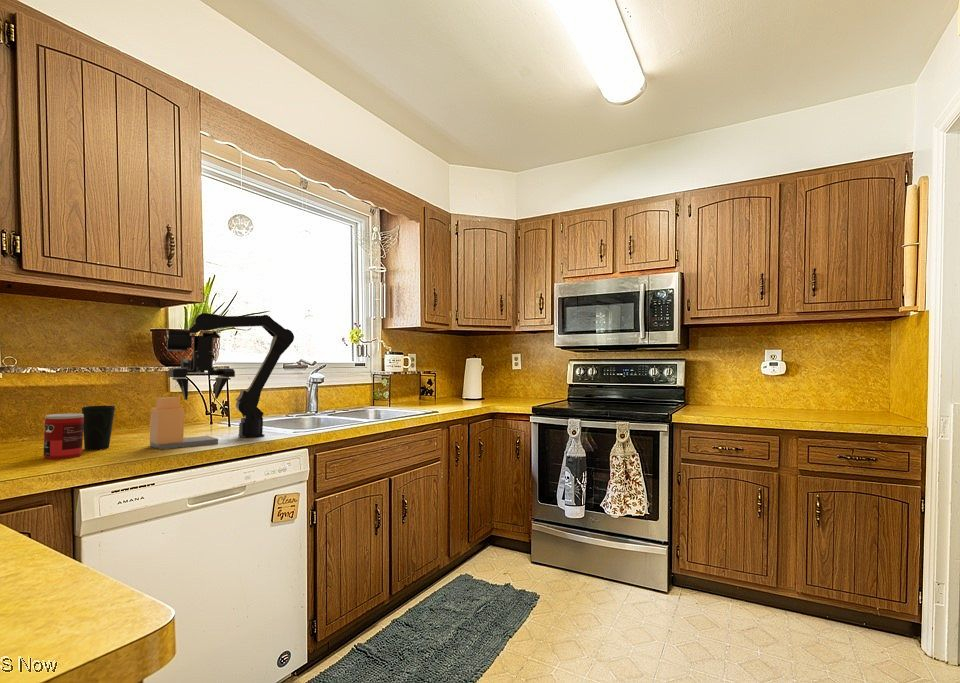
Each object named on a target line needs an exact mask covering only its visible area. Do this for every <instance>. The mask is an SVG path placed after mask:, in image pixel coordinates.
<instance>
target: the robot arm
mask: <svg viewBox="0 0 960 683" xmlns="http://www.w3.org/2000/svg"><path fill="white" fill-rule="evenodd" d="M193 323H194V324H193V325H192V326H191V327H189V328H188V330H181V329H180V330H178V329H172V328H171V329H170V328H169V329H168V333H167V335H168V336H167V339H166V351H167V352H187V351H188V349H192V342H193V352H192V354H191V358H190V359H189V358H181V360H180V367H178V368H177V367H176V368H173V367H172V368H171V367H170V368H169V369H168V370H167V377H168V378H172V381H175V382H177V384H178V385H179V388H180V390H181V393H182V396H183V398H184V401H187V400H188V398H189V397H188V396H189V378H187V377H188V376H190V377H191V376H192V377H195V376H198V377H201V376H217V377H214V378H215V379H214V380H215V390H214V399H216V400H217V399H219V397H220V394H221V392H222V390H223V388H224V387H225V385H226V384H227V382H228V381H230V380H231V379H232V378H236V371H235V369H234V368H226V367H225V368H222V367H221V368H220V367H219V368H217V369H215V367H214V366H213V365H214V364H213V363H214V358H215V354H214V342H215V341H214V339H221V335H219V334H218V332H217V331H216V330H219V329H222V328H223V329H224V328H245V327H248V328H249V327H251V328H252V327H262V328H263V330H265V331H266V333H268V334H269V335H270V336H271V337H272V338H271V343H270V346H269V351H268V353H267V354H266V356H265V358H264V360H263V362H262V364H261V365H260V367H259V369H258V371H257V373H256V374H255V376H254V378H253V379H252V382H251V384H250V385H249V386H248V387H247V388H246V390H244V389H241V390H240V392H239V394H238V396H237V398H235V401H236V402H235V407H236V410H237V411H238V412H239V413H241V416H242V417H241V418H240V422H239V424H238V425H239V426H238V434H237V436H238V437H240V438H241V437H242V438H258V437H265V436H266V435H265V434H264V433H263V430H264V427H263V426H264V424H263V423H264V417H263V416H264V414H265V413H264V412H263V411H262V410H261V409H260V408H259V407H258V404H259V402H260V398H261V393H262V391H263V389H264V387H265V385H266V383H267V381H268V379H269V378H270V376H271V373H272V372H273V371H274V368H275V367H276V365H277V363H278V361H279V359H280V358H281V355H283V354H284V353H285V352H286V351H287V350H288V348H290V345H291V344H292V343H293V342H294V339H295V336H294V333H293V331H292V330H290V329H288V328H285V327H283V326H282V324H280V323H278V322H277V321H275V320H274V319H273V318H272V317H271V316H270V315H268V314H263V315H220V314H215V313H209V312H208V313H207V312H202V313H200V314H198V315H197V316H196V317H195V318H194V321H193ZM207 331H212V332H207ZM199 332H202V333H201V335H195V334H197V333H199ZM192 338H193V339H192Z"/></svg>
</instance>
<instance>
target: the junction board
mask: <svg viewBox="0 0 960 683" xmlns="http://www.w3.org/2000/svg"><path fill="white" fill-rule="evenodd" d="M218 444H219V439H218V437H213V436H210V435H201V436H200V435H199V436H191V437H183V442H176V443H166V444H155V443H152V442H150V441H149V447H152V448H154V449H155V450H158V449H159V451H161V449H164V450H170V449H169V448H173V449H179V448H178V447H183V448H190V446H193V447H202V446H210V445H211V446H212V445H218Z"/></svg>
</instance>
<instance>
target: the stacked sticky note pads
mask: <svg viewBox="0 0 960 683" xmlns="http://www.w3.org/2000/svg"><path fill="white" fill-rule="evenodd" d="M155 402H156V403H155V404H156V405H155V407H150V426H149V427H150V428H149V429H150V430H149V443H150V442H152V443H155V444H166V443H176V442H183V438H184V432H185V431H184V430H185V427H184V426H185V408H184V407H180V406H181V398H180V397H176V396H167V397H165V396H163V397H156V401H155Z"/></svg>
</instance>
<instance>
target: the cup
mask: <svg viewBox="0 0 960 683" xmlns="http://www.w3.org/2000/svg"><path fill="white" fill-rule="evenodd" d="M115 410H116V406H115V405H88V406H83V407H82V408H81V414H84V424H83V444H84V451H101V450H100V449H103V450H108V449H109V448H110V442H111V438H112V430H113V423H114V418H115ZM107 448H108V449H107Z"/></svg>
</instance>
